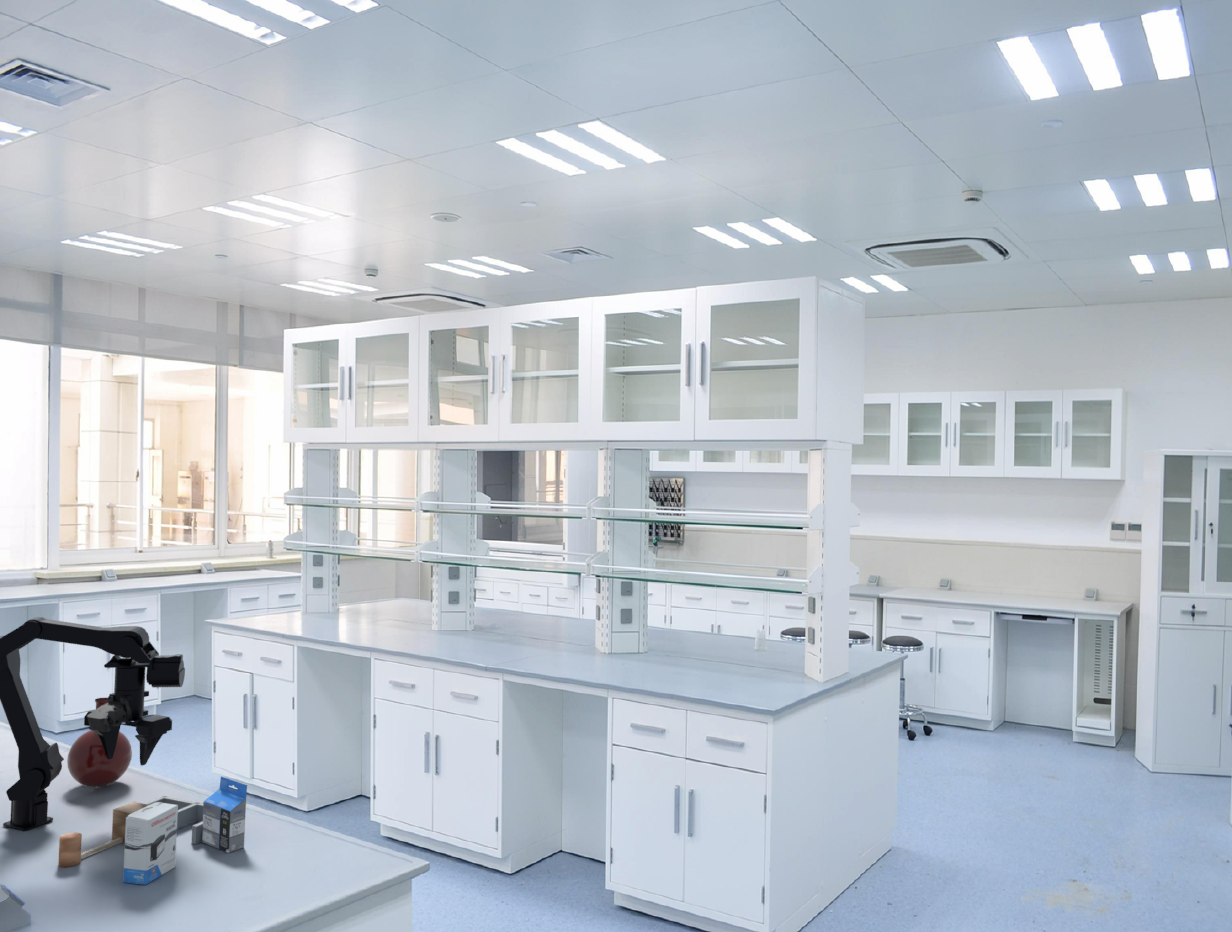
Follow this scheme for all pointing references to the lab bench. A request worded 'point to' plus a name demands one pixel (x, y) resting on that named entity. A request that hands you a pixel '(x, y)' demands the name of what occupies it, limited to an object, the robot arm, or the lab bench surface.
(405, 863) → the lab bench surface
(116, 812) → the brown elongated piece
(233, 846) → the ink cartridge box
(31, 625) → the robot arm
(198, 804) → the shelf lane
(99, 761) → the round-bottom flask
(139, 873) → the ink box
